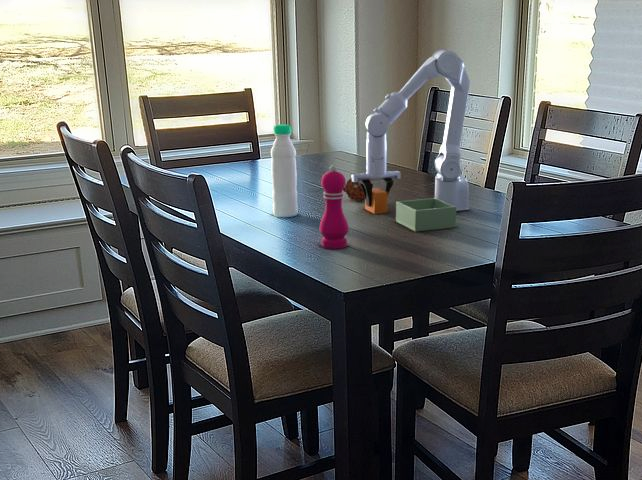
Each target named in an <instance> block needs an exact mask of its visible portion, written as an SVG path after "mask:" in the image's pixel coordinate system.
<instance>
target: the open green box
mask: <svg viewBox="0 0 642 480" xmlns="http://www.w3.org/2000/svg"><path fill="white" fill-rule="evenodd" d="M395 222H396V223H397V224H399V225H401V226H404V227H406V228H407V229H409V230H412V231H413V232H425V231H433V230H434V231H435V230H443V229H452V228H456V227H457V225H456V224H457V211H456V207H455V206H453V205H451V204H449V203H446V202H444V201H442V200H439V199H437V198H435V197H429V198H419V199H407V200H398V201H397V200H396V202H395Z"/></svg>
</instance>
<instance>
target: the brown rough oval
mask: <svg viewBox="0 0 642 480" xmlns="http://www.w3.org/2000/svg"><path fill="white" fill-rule="evenodd" d="M370 182H371V183H372V180H371V181H370ZM372 184H373V183H372ZM342 191H343V192H344V193H345V194H346V195H347V197H348V198H349V199H350V200H351V201H353V200H355V201H357V202H362V201H364V200H365V196H364V193H363V190H362V188H361V186H360V184H359V182H353V181H352V176H351V177H350V178H349V179H348V180H347V181H346V185H345V187H344V189H343V190H342Z"/></svg>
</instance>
